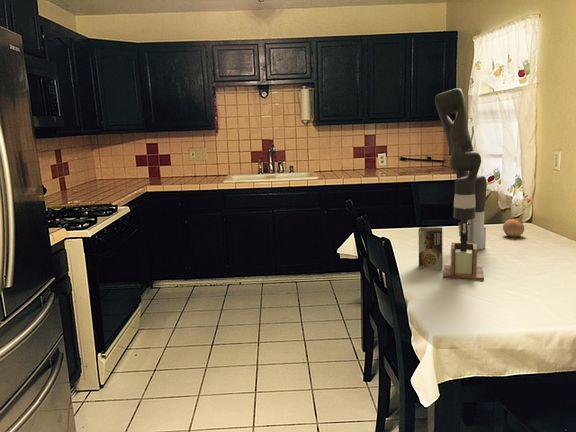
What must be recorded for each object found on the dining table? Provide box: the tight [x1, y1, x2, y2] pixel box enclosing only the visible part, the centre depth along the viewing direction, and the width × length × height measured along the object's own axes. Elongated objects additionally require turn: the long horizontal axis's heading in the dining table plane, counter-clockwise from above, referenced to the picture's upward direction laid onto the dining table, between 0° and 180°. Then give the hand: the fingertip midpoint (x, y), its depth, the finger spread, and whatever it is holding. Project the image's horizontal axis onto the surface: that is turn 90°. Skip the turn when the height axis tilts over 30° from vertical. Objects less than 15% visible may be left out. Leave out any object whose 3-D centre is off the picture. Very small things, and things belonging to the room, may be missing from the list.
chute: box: [443, 242, 485, 281], centre depth 181 cm, size 14×14×11 cm
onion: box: [502, 218, 525, 238], centre depth 233 cm, size 10×9×10 cm
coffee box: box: [417, 226, 444, 271], centre depth 190 cm, size 9×6×16 cm
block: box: [455, 249, 472, 274], centre depth 181 cm, size 6×6×8 cm
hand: (463, 250), depth 180 cm, fingers closed
